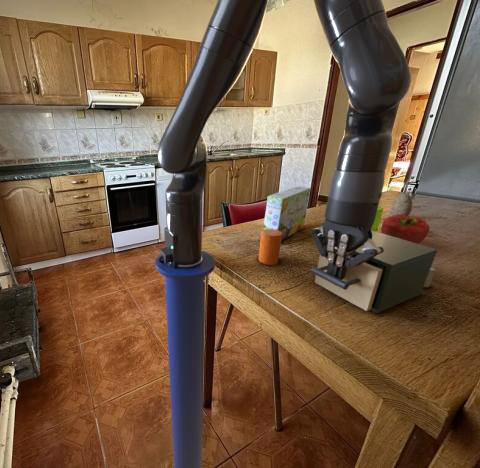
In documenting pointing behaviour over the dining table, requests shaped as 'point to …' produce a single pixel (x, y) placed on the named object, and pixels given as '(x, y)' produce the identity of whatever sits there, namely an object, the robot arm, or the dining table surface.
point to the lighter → (429, 277)
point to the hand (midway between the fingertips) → (334, 280)
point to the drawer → (353, 282)
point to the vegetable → (405, 228)
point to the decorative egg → (402, 205)
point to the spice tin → (270, 246)
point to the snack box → (287, 210)
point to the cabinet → (400, 269)
